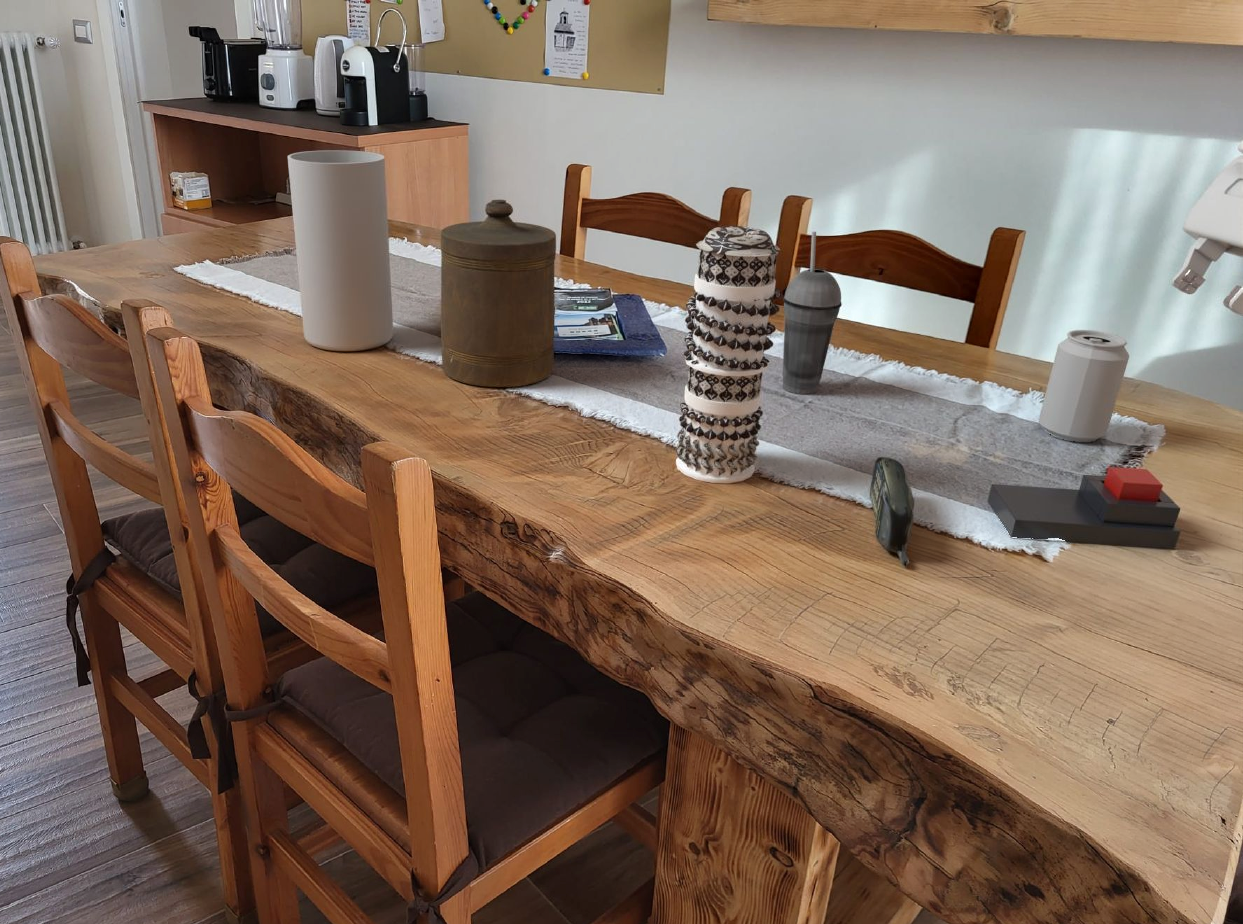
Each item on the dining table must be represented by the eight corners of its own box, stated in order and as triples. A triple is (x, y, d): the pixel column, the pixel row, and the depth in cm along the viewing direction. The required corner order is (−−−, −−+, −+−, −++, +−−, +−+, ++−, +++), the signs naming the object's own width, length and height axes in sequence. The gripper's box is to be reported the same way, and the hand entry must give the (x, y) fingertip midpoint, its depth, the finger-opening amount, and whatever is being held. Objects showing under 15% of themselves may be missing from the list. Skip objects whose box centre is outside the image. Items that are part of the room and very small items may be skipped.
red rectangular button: (1140, 488, 97) (1147, 469, 96) (1156, 504, 94) (1163, 485, 93) (1102, 485, 97) (1108, 466, 96) (1117, 501, 94) (1123, 482, 93)
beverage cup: (804, 402, 125) (827, 242, 116) (760, 385, 130) (779, 231, 121) (839, 390, 130) (864, 235, 121) (795, 375, 135) (816, 225, 126)
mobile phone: (872, 451, 100) (890, 515, 86) (902, 454, 99) (926, 518, 86) (864, 496, 102) (881, 565, 88) (894, 499, 101) (915, 569, 88)
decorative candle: (772, 482, 104) (805, 240, 93) (687, 487, 102) (711, 241, 91) (740, 447, 112) (767, 221, 100) (661, 452, 110) (680, 221, 99)
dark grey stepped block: (1138, 511, 100) (1150, 475, 98) (1174, 550, 93) (1187, 512, 91) (987, 501, 101) (995, 465, 100) (1010, 538, 94) (1020, 500, 92)
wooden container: (560, 356, 138) (565, 193, 129) (543, 392, 125) (546, 214, 115) (457, 348, 140) (453, 187, 130) (429, 383, 127) (423, 207, 117)
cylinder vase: (286, 344, 139) (267, 158, 128) (338, 322, 150) (325, 147, 138) (361, 358, 135) (348, 166, 124) (410, 334, 145) (402, 155, 134)
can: (1107, 429, 120) (1135, 334, 115) (1101, 450, 114) (1131, 350, 109) (1041, 416, 124) (1066, 322, 118) (1032, 435, 118) (1058, 337, 112)
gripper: (1453, 188, 72) (1301, 347, 77) (1292, 168, 91) (1179, 297, 96) (1388, 140, 71) (1239, 304, 76) (1239, 130, 90) (1128, 262, 95)
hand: (1205, 299), depth 86 cm, fingers open, 8 cm apart
